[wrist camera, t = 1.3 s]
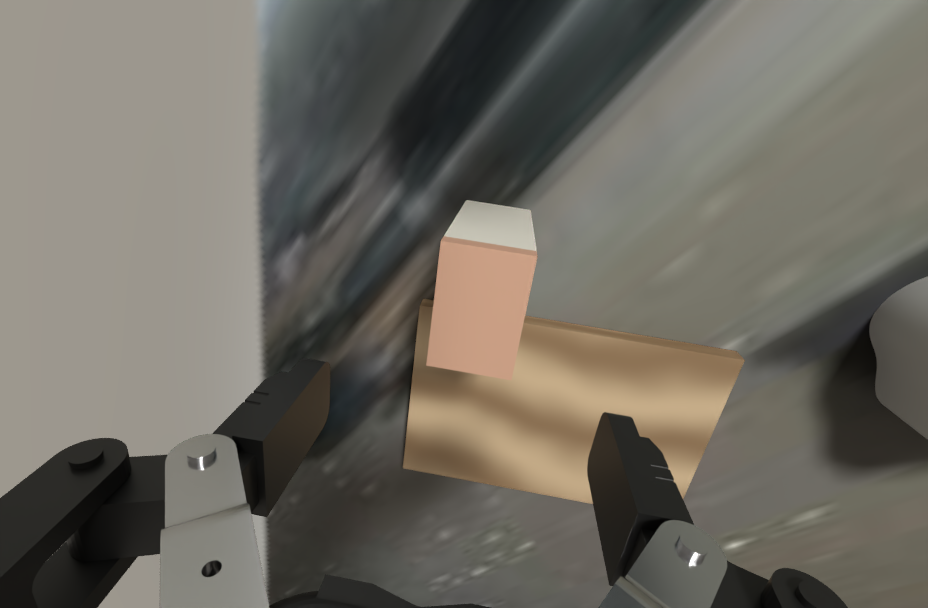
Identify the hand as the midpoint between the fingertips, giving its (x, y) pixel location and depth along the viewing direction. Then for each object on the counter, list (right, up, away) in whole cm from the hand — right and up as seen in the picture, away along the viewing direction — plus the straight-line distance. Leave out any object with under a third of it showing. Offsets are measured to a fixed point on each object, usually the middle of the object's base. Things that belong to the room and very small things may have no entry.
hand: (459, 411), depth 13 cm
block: (+2, +6, +16) cm, 17 cm away
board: (+7, -5, +20) cm, 21 cm away
